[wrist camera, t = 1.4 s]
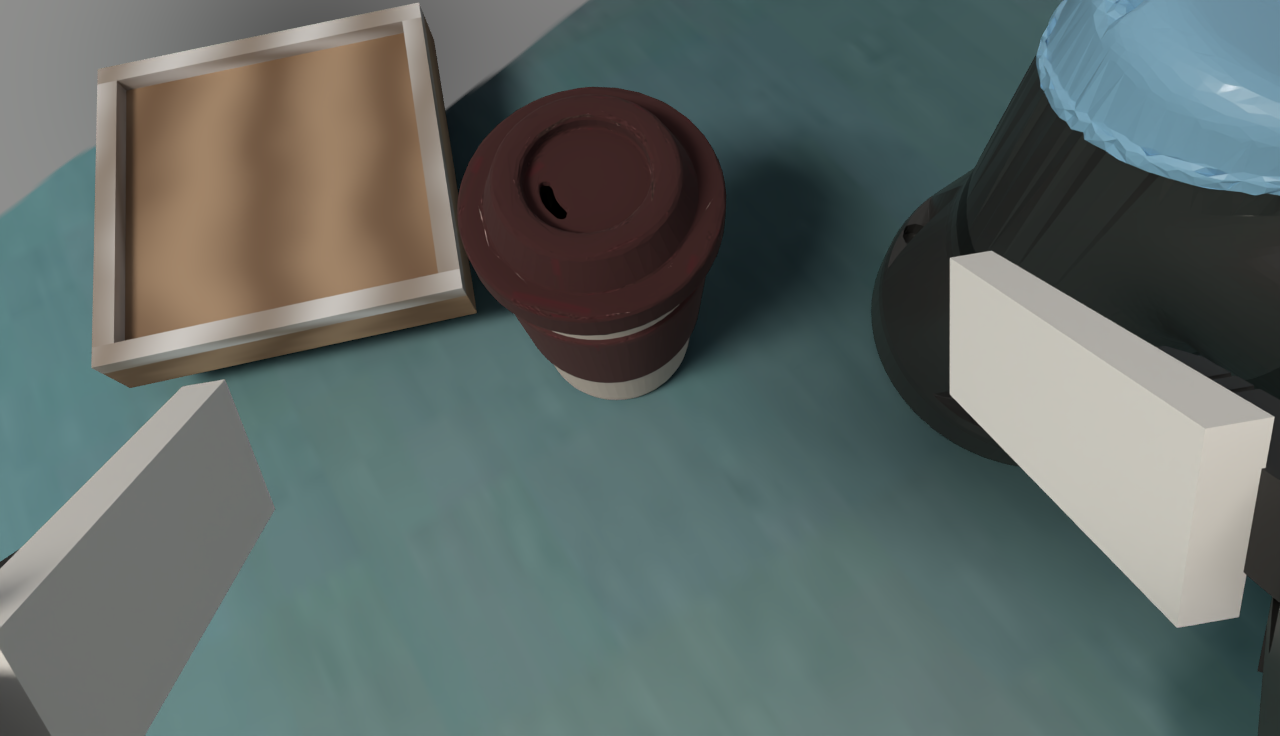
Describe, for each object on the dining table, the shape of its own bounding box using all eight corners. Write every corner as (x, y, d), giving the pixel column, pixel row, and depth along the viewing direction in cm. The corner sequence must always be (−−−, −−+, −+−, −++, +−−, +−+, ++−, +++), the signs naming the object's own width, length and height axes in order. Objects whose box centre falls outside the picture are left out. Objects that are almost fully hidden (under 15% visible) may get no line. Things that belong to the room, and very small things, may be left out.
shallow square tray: (448, 76, 50) (418, 2, 44) (490, 336, 44) (462, 287, 38) (162, 136, 49) (97, 69, 44) (166, 406, 43) (91, 368, 38)
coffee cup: (719, 253, 45) (732, 58, 31) (711, 433, 41) (722, 307, 27) (534, 246, 45) (465, 53, 31) (512, 423, 42) (423, 294, 28)
